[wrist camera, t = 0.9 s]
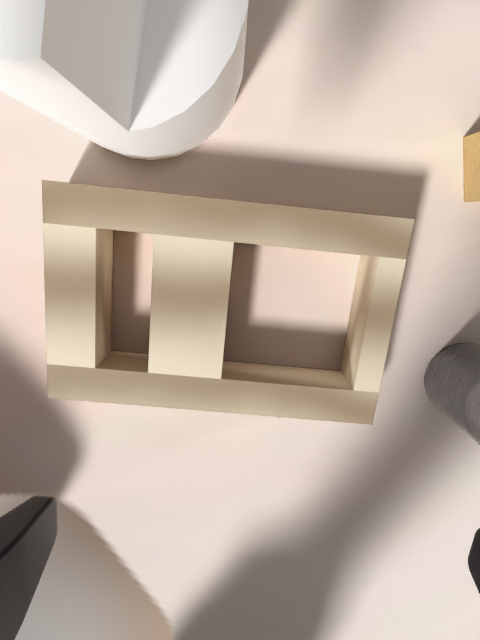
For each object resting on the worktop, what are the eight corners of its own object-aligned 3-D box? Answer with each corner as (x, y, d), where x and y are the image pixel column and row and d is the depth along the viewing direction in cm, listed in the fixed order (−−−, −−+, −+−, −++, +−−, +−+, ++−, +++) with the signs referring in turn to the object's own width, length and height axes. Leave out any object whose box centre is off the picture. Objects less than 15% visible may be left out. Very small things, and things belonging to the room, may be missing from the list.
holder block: (356, 401, 22) (372, 424, 19) (68, 377, 21) (47, 398, 19) (391, 219, 19) (414, 219, 17) (66, 185, 19) (41, 180, 16)
